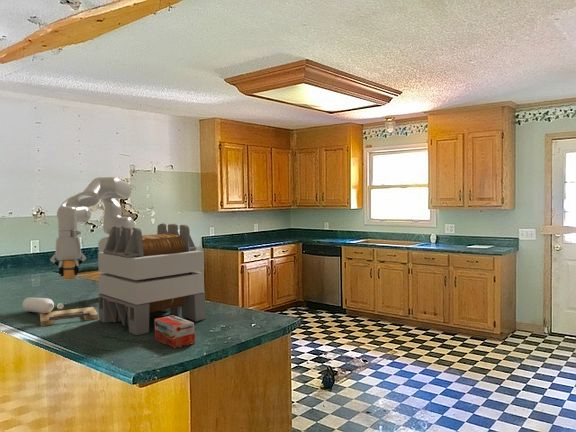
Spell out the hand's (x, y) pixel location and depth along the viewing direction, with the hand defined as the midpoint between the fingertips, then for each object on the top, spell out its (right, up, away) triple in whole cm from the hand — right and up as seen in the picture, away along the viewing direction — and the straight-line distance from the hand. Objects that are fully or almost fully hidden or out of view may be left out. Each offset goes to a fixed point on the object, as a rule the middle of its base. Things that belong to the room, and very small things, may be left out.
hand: (68, 275), depth 211 cm
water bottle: (-23, -15, +12) cm, 30 cm away
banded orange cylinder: (0, -1, 0) cm, 1 cm away
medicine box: (+56, -20, -38) cm, 70 cm away
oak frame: (+1, -18, -3) cm, 19 cm away
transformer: (+39, -18, -7) cm, 44 cm away
